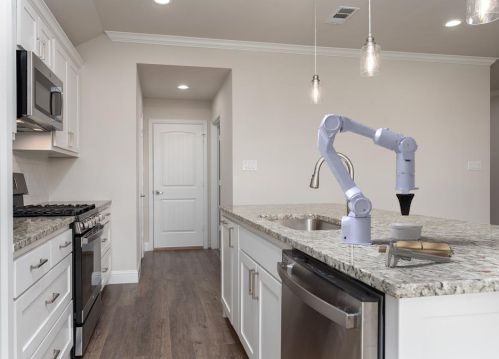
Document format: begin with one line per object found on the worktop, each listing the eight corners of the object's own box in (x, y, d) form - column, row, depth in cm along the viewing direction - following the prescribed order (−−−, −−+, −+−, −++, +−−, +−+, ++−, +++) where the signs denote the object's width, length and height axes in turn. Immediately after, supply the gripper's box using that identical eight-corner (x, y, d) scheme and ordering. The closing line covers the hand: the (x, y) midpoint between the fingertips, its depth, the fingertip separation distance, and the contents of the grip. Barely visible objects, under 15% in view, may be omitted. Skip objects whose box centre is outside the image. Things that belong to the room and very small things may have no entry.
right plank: (423, 252, 110) (423, 248, 110) (422, 245, 121) (422, 242, 121) (450, 254, 108) (450, 249, 108) (446, 247, 118) (446, 243, 118)
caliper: (387, 269, 92) (387, 243, 92) (384, 268, 93) (385, 242, 93) (454, 263, 98) (454, 239, 98) (450, 262, 99) (450, 238, 99)
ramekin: (381, 237, 139) (381, 223, 139) (403, 235, 144) (403, 221, 144) (406, 242, 129) (407, 227, 129) (429, 240, 134) (429, 225, 134)
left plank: (395, 250, 113) (395, 246, 113) (396, 244, 123) (396, 240, 123) (421, 252, 111) (421, 248, 111) (420, 245, 121) (420, 242, 121)
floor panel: (378, 252, 110) (378, 248, 110) (379, 250, 114) (379, 246, 114) (448, 258, 104) (448, 253, 104) (447, 255, 107) (447, 250, 107)
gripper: (419, 173, 117) (419, 218, 117) (418, 174, 130) (417, 213, 130) (394, 173, 120) (394, 217, 120) (395, 174, 133) (395, 213, 133)
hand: (405, 215), depth 125 cm, fingers closed
